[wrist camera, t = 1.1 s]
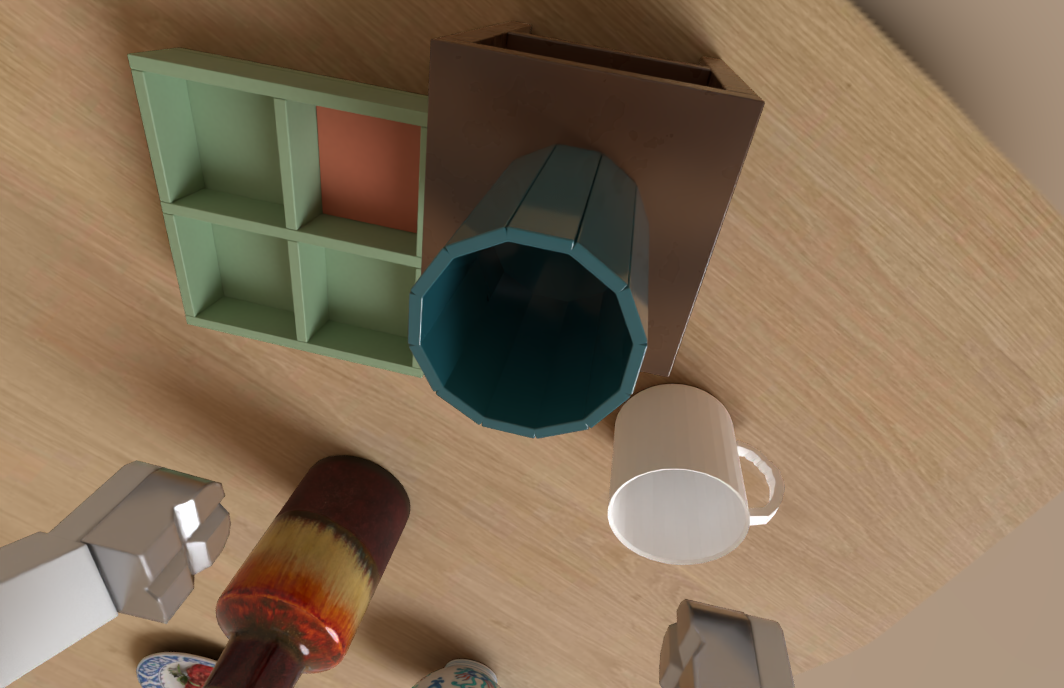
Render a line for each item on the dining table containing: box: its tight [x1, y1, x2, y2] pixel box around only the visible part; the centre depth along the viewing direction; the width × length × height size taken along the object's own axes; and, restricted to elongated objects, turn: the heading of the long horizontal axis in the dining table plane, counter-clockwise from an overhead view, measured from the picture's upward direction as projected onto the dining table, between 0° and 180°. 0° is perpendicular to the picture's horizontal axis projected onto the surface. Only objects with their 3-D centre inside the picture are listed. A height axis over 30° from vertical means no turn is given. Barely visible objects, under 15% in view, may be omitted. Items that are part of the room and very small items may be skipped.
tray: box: [127, 47, 428, 378], centre depth 39 cm, size 18×18×4 cm
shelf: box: [421, 21, 765, 377], centre depth 29 cm, size 12×12×14 cm
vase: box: [202, 456, 410, 688], centre depth 48 cm, size 11×11×20 cm
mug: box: [608, 384, 785, 565], centre depth 41 cm, size 12×9×9 cm
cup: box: [408, 144, 649, 438], centre depth 19 cm, size 7×7×9 cm
